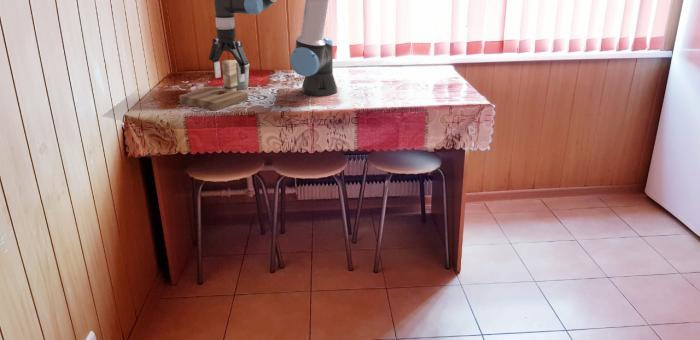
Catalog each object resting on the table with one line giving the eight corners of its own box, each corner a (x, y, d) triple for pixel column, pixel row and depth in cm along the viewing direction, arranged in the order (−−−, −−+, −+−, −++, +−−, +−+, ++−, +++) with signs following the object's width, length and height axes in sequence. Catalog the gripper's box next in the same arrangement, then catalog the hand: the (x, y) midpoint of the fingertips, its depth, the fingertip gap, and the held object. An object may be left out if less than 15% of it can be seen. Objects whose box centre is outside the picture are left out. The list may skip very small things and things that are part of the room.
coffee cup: (246, 90, 225) (244, 63, 220) (228, 89, 226) (226, 62, 221) (254, 86, 232) (252, 59, 228) (236, 85, 234) (234, 58, 229)
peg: (238, 93, 221) (235, 60, 215) (231, 95, 218) (228, 62, 212) (231, 91, 223) (228, 59, 217) (224, 93, 219) (221, 61, 214)
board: (248, 100, 211) (247, 92, 210) (216, 110, 197) (215, 103, 195) (212, 93, 220) (212, 86, 219) (180, 102, 206) (179, 95, 205)
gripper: (255, 29, 206) (258, 81, 215) (210, 24, 218) (214, 73, 227) (242, 31, 200) (246, 85, 209) (197, 26, 212) (202, 77, 221)
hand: (229, 79), depth 218 cm, fingers open, 13 cm apart
